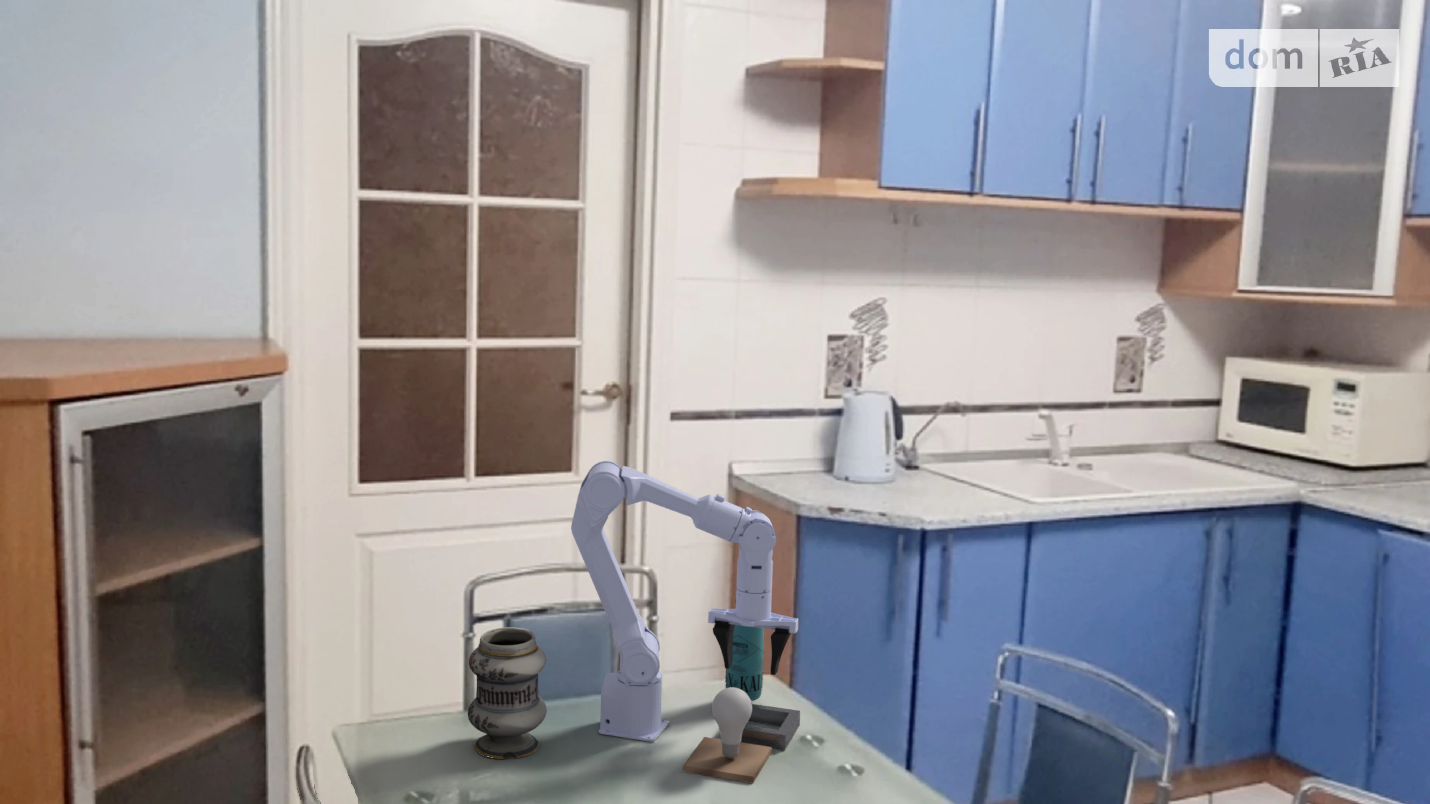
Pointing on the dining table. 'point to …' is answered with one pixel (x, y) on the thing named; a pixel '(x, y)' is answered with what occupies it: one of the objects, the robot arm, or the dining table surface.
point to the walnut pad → (727, 761)
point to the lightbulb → (731, 718)
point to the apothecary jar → (507, 692)
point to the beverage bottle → (747, 661)
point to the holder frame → (771, 716)
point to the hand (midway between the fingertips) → (751, 669)
